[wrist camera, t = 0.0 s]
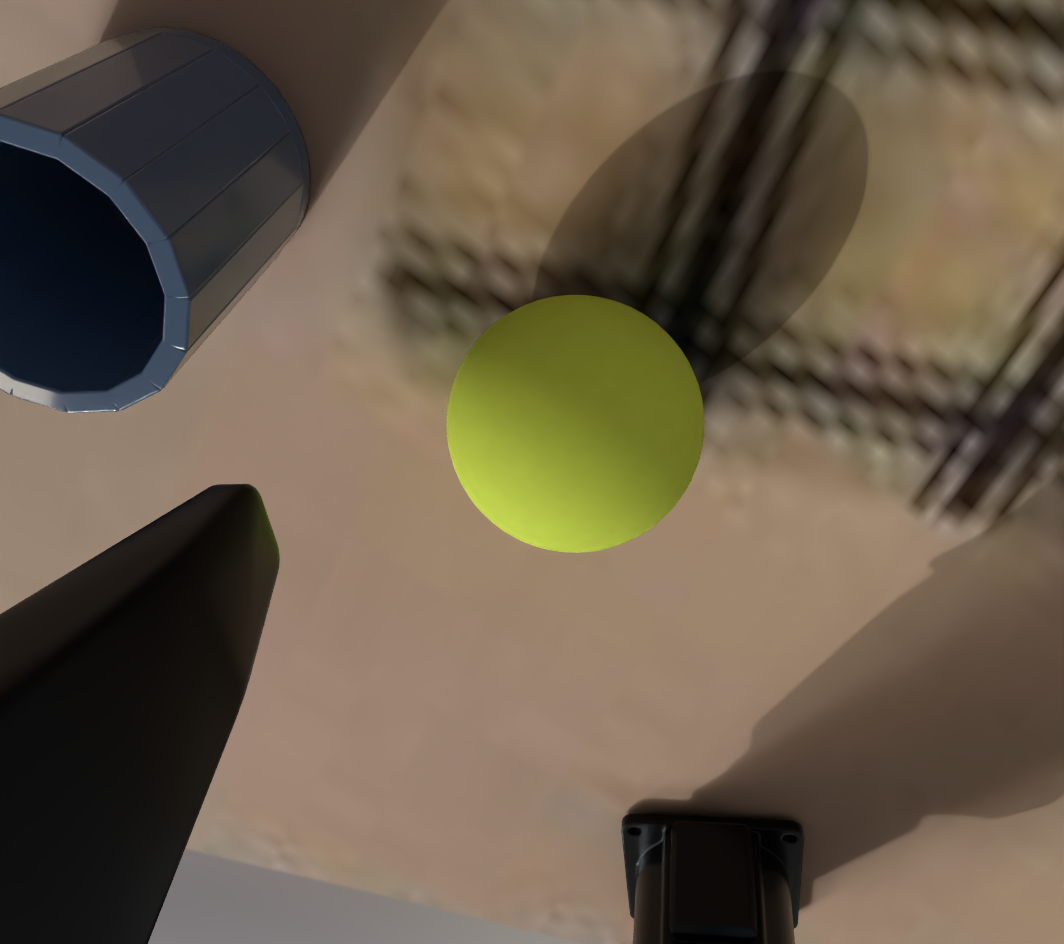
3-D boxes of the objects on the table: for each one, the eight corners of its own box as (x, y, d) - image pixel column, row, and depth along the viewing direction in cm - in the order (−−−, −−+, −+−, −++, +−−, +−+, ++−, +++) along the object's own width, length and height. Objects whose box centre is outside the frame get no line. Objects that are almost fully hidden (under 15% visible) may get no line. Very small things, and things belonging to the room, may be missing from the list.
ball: (704, 455, 26) (707, 608, 21) (489, 459, 27) (446, 606, 22) (700, 246, 23) (704, 371, 18) (455, 260, 24) (395, 381, 19)
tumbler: (335, 263, 24) (228, 409, 19) (126, 275, 25) (-35, 417, 20) (274, 14, 21) (121, 100, 15) (37, 40, 22) (-188, 128, 16)
